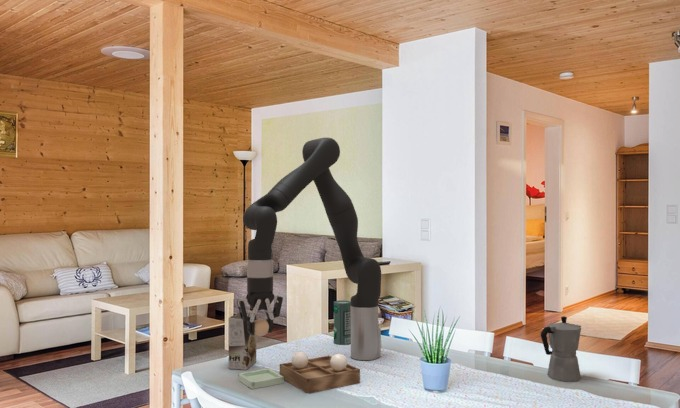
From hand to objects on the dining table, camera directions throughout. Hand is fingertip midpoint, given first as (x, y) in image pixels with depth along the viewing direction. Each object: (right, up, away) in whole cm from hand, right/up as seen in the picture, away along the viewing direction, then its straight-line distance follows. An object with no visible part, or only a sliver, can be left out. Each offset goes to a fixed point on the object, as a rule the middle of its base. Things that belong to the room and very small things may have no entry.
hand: (260, 333), depth 173 cm
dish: (0, -14, 0) cm, 14 cm away
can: (+24, -13, +45) cm, 53 cm away
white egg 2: (+23, -8, 0) cm, 24 cm away
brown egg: (0, +2, 0) cm, 2 cm away
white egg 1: (+11, -9, +3) cm, 14 cm away
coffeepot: (+88, -14, +2) cm, 90 cm away
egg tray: (+17, -14, +1) cm, 22 cm away
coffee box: (-8, -14, +17) cm, 23 cm away
